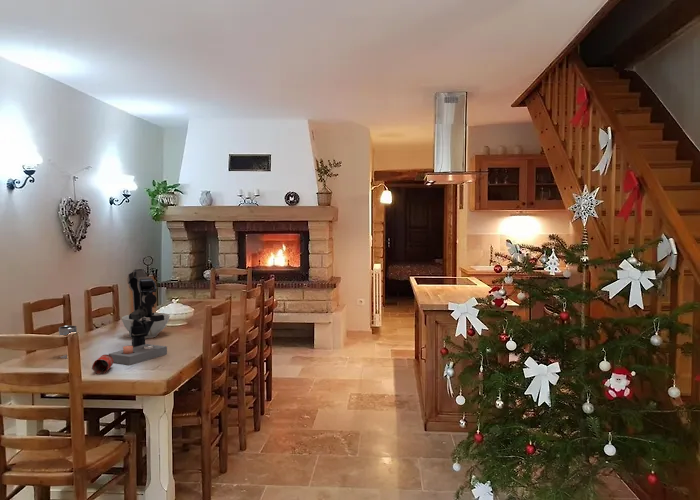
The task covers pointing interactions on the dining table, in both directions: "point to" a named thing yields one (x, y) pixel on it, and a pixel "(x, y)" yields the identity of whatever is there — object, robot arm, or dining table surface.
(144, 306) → the robot arm
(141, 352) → the press block
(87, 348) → the dining table surface
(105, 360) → the beverage can
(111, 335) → the dining table surface
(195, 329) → the dining table surface
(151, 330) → the decorative bowl
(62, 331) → the wine glass
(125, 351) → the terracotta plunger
